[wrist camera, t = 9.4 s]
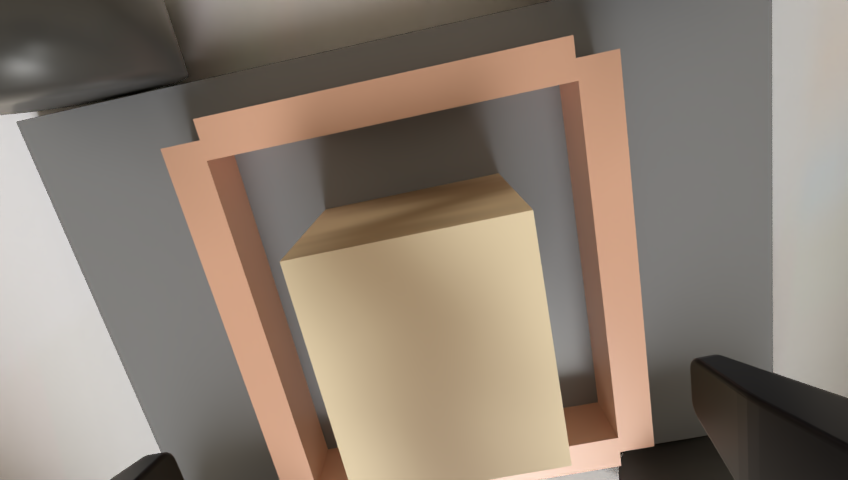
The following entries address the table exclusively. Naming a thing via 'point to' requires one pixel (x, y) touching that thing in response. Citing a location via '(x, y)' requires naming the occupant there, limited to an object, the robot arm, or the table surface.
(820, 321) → the table surface
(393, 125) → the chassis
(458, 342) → the tan wooden block
